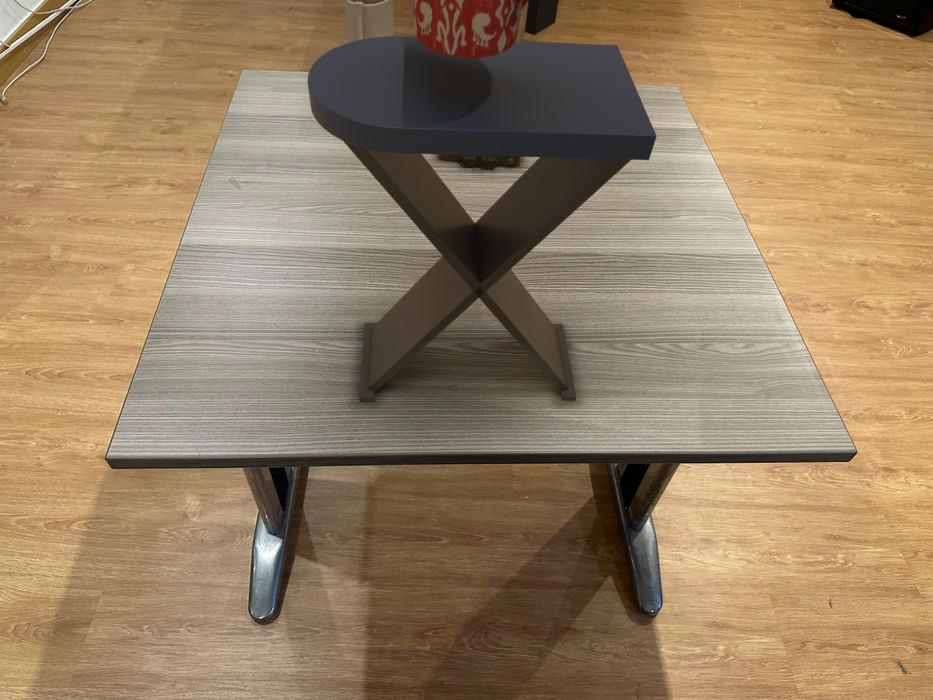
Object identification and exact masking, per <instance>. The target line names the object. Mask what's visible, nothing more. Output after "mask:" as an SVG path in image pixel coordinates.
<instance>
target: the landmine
mask: <svg viewBox="0 0 933 700" xmlns="http://www.w3.org/2000/svg"><path fill="white" fill-rule="evenodd" d="M521 158H522V157H515V156H479V155H443V154H438V159H440V160H445V161H457V162H458V161H459V162H460V166H462V167H463V168H472V169H476V167H480V169H481V170H483V169H485V170H494V169H496V168H497V166H501V165H502V166H508V167H519V166H520V164H521Z"/></svg>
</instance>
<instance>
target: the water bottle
mask: <svg viewBox="0 0 933 700" xmlns="http://www.w3.org/2000/svg"><path fill="white" fill-rule="evenodd" d="M343 3H344V16H345V26H346V27H345V28H346V29H345V30H346V40H347V41H346V42H347V43H349V42H353V41H357V40H362V39H367V38H375V37H387V36H395V35H394V34H395V32H394V31H395V30H394V28H395V27H394V26H395V25H394V0H343Z"/></svg>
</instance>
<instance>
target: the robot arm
mask: <svg viewBox="0 0 933 700" xmlns="http://www.w3.org/2000/svg"><path fill="white" fill-rule="evenodd" d="M559 2H560V0H529V1H528V2H527V9H526V19H525V24H524V25H525V26H524V33H527V34H530V35H531V36H536V35H538V34H539V33H541V32H542V31H544V30H546V29H548V28H549V27H551V26H552V25H553V24H556V20H557V13H558V8H559Z"/></svg>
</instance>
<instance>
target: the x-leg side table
mask: <svg viewBox="0 0 933 700" xmlns="http://www.w3.org/2000/svg"><path fill="white" fill-rule="evenodd" d="M307 90H308V96H309V104H310V111H311V113H312V115H313V117H314V120H316V122H317V123H318V124H319V125H320V127H322V128H323V129H324V130H325V131H326V132H328V133H329V134H330V135H332V136H333V137H335V138H337V139H339V140H341V141H342V142H343V143H344V144H345V145H346V146H347V148H348V150H350V151H351V152H352V153H353V155H354V156H355V157H356V158H357V159H358V160H359V162H361V164H362V165H363V166H364V167H365V168H366V170H368V172H369V173H370V174H371V176H372V177H374V179H375V180H376V181H377V182H378V183H379V184H380V186H381V187H382V188H383V189H384V190H385V191H386V193H387V194H388V195H389V196H390V197H391V198H392V200H394V202H395V203H396V205H398V207H400V209H401V210H402V211H403V212H404V213H405V215H406V216H407V217H408V218H409V219H410V220H411V222H413V224H414V225H415V226H416V227H417V228H418V229H419V231H420V232H421V233H422V234H423V235H424V236H425V237H426V239H427V240H428V241H429V242H430V243H431V244H432V246H433V247H434V248H435V249H436V250H437V252H439V254H440V255H441V257H440V258H439V259H438V260H437V261H436V262H435V263H434V264H433V265H432V266H430V268H429V269H428V270H427V271H426V272H425V273H424V274H423V275H422V276H420V278H419V279H418V280H417V281H416V282H415V283H414V284H413V285H412V286H411V288H409V290H407V291H406V292H405V294H403V296H402V297H400V298H399V299H398V300H397V302H396V303H395V304H394V305H392V307H391V308H389V310H388V311H387V312H385V314H384V315H383V316H382V317H381V318H379V320H378V321H377V322H364V327H363V340H362V355H361V368H360V381H359V395H358V396H359V397H358V399H359V402H375V396H376V392H377V391H378V390H379V389H380V388H381V387H382V386H383V385H385V384H386V382H388V381H389V380H390V379H391V378H393V376H394V375H395V374H397V373H398V372H399V371H400V370H401V369H402V368H403V367H404V366H406V365H407V364H408V363H409V362H410V361H411V360H412V359H414V357H415V356H416V355H418V354H419V353H420V352H421V351H422V350H424V348H426V347H427V346H428V345H429V344H430V343H431V342H432V341H433V340H434V339H435V338H436V337H438V335H440V334H441V333H442V332H443V331H444V330H445V329H446V328H447V327H448V326H450V325H451V324H452V323H453V322H454V321H455V320H456V319H458V317H459V316H461V315H462V314H463V313H464V312H465V311H466V310H468V308H470V306H472V305H473V304H474V303H475V302H476V301H477V300H478V299H479V300H480V301H481V302H482V304H484V305H485V307H486V308H487V310H489V311H490V312H491V314H492V315H493V316H494V317H495V318H496V319H497V321H498V322H499V323H500V324H501V325H502V326H503V328H504V329H505V330H506V331H507V332H508V333H509V335H510V336H511V337H512V338H513V340H515V341H516V343H517V344H518V345H519V346H520V347H521V348H522V349H523V351H524V352H525V353H526V354H527V355H528V356H529V358H530V359H531V360H532V361H533V362H534V363H535V364H536V365H537V367H538V368H539V369H540V370H541V372H543V373H544V375H545V376H546V378H548V379H549V380H550V382H551V383H552V384H553V386H555V387H556V388H557V390H558V391H559V394H560V400H561V401H562V402H575V401H576V400H577V397H578V395H577V391H576V385H575V381H574V376H573V370H572V365H571V361H570V355H569V350H568V344H567V340H566V334H565V329H564V324H563V323H553V322H552V321H551V319H550V318H549V317H548V315H547V314H546V313H545V311H544V310H543V309H542V308H541V307H540V305H539V304H538V302H537V301H536V300H535V299H534V297H533V296H532V295H531V294H530V292H529V291H528V290H527V289H526V287H525V286H524V284H523V283H522V282H521V280H520V279H519V277H517V275H516V274H515V273H514V271H513V270H512V268H514V267H515V266H516V265H517V264H518V263H520V261H522V260H523V259H524V258H525V257H526V256H527V255H528V254H529V253H530V252H531V251H533V250H534V249H535V248H536V247H537V246H538V245H539V244H540V243H541V242H543V241H544V240H545V239H546V238H547V237H548V236H549V235H550V234H551V233H553V231H555V230H556V229H557V228H558V227H559V226H560V225H561V224H562V223H563V222H565V221H566V220H567V219H568V218H569V217H570V216H571V215H572V214H574V213H575V212H576V211H577V210H578V209H579V208H580V207H581V206H583V204H585V202H587V201H588V200H589V199H590V198H591V197H592V196H594V194H595V193H597V192H598V191H599V190H601V188H603V186H604V185H605V184H606V183H608V182H609V181H610V180H611V179H612V178H613V177H614V176H615V175H617V174H618V173H619V172H620V171H621V170H622V169H623V168H624V167H626V165H628V164H629V163H630V162H631V161H632V160H633V161H650V158H651V156H652V152H653V149H654V146H655V144H656V140H657V136H658V135H657V133H656V131H655V129H654V126H653V123H652V122H651V120H650V117H649V115H648V112H647V110H646V108H645V106H644V103H643V101H642V99H641V97H640V94H639V92H638V89H637V87H636V85H635V83H634V80H633V78H632V75H631V74H630V71H629V68H628V67H627V64H626V62H625V60H624V57H623V54H622V53H621V51H620V48H619V45H617V44H597V43H596V44H595V43H575V42H573V43H572V42H549V41H523V40H516V41H515V43H514V44H513V46H512V47H511V48H510V49H508V50H507V51H505V52H503V53H500V54H497V55H494V56H490V57H484V58H458V57H452V56H447V55H443V54H440V53H437V52H434V51H432V50H430V49H428V48H427V47H425V46H424V45H422V44H421V43H420V42H419V41H418V39H417V38H416V36H407V35H406V36H405V35H403V36H402V35H398V36H397V35H394V36H387V37H375V38H367V39H362V40H357V41H353V42H349V43H343V44H341V45H338V46H336V47H333V48H332V49H330V50H328V51H327V52H325V53H323V54H322V55H320V57H318V59H316V61H314V62H313V64H312V65H311V67H310V68H309V72H308V73H307ZM439 154H443V155H479V156H515V157H521V158H537V159H536V160H535V162H533V163H532V165H530V166H529V168H528V169H526V171H525V172H524V173H523V174H522V175H521V176H519V178H517V180H516V181H515V182H514V183H513V184H512V185H511V186H510V187H509V188H508V189H507V190H506V191H505V192H504V193H503V194H502V195H501V196H500V197H499V198H497V200H496V201H495V202H494V203H493V204H491V206H490V207H489V208H488V209H487V210H486V211H485V212H484V213H483V214H482V216H480V217H479V218H478V219H477V220H476V221H474V219H473V218H472V217H471V216H470V214H469V213H468V212H467V210H466V209H465V208H464V207H463V205H462V204H461V203H460V201H458V199H457V198H456V196H455V195H454V194H453V193H452V191H451V190H450V188H449V187H448V186H447V185H446V183H445V182H444V181H443V180H442V178H441V177H440V176H439V174H438V173H437V172H436V171H435V169H434V168H433V166H432V165H431V164H430V162H429V161H428V160H427V159H426V157H425V156H424V155H439Z"/></svg>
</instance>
